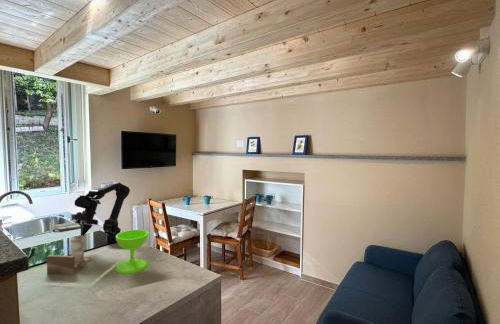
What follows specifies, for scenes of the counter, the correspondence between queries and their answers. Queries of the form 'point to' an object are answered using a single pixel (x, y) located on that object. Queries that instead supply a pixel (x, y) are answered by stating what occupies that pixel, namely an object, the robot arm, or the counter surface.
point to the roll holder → (62, 265)
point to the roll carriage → (78, 249)
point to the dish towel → (66, 227)
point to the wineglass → (131, 250)
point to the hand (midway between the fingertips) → (81, 236)
